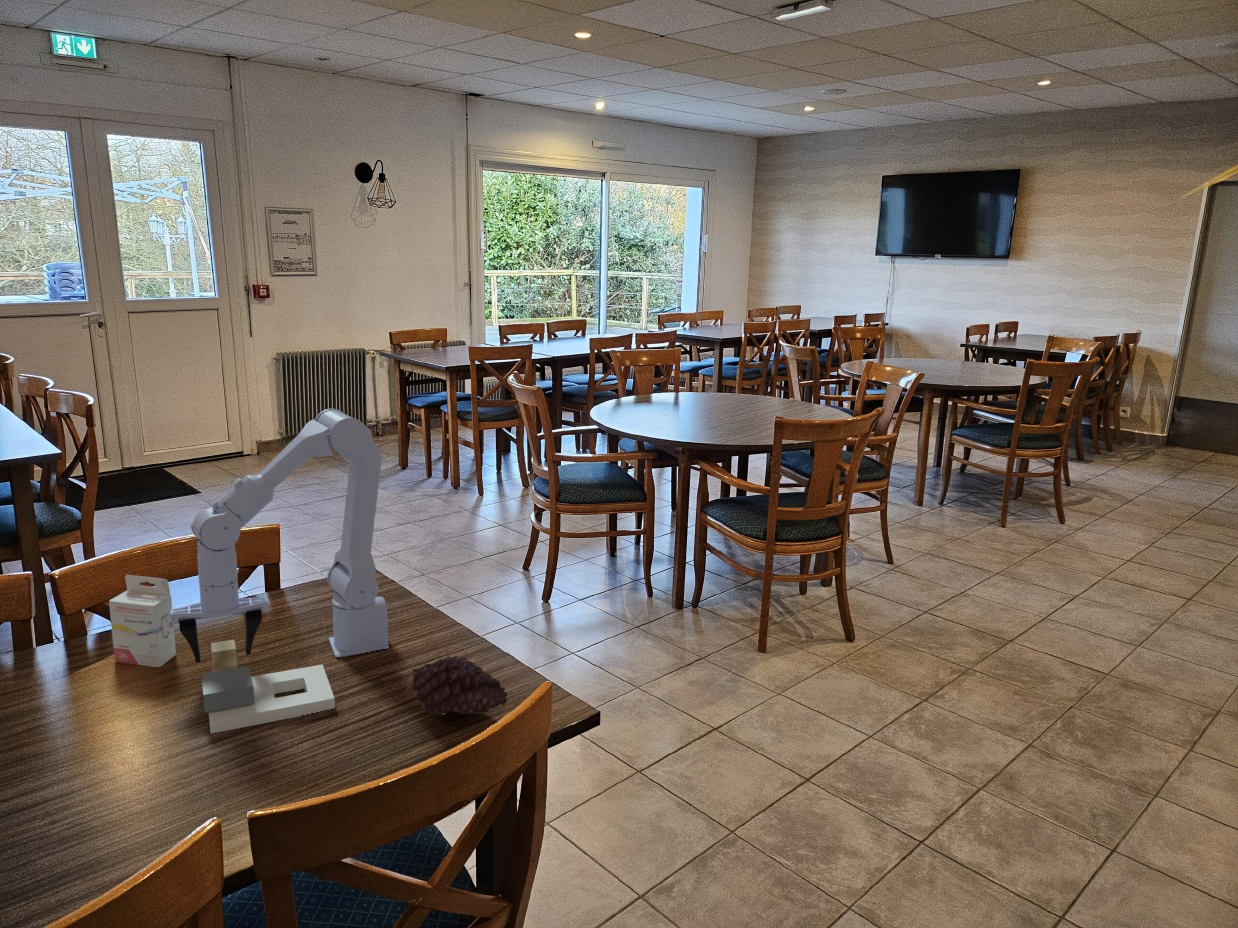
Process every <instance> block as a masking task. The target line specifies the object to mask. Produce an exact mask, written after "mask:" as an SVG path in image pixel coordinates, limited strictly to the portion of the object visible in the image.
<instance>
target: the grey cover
mask: <svg viewBox="0 0 1238 928" xmlns="http://www.w3.org/2000/svg"><path fill="white" fill-rule="evenodd" d="M252 677H253V676H252V671H251V667H250V665H246V666H239V667H237V668H233V669H227V670H221V671H215V672H213V671H211V672H210V671H209V672H205V673H204V672H203V673H201V684H202V694H203V695H202V699H203V708H204V713H209V712H211V711H216V710H222V709H227V708H232V707H238V706H243V705H249V704H254V687H253V681H252Z"/></svg>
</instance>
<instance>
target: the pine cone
mask: <svg viewBox="0 0 1238 928" xmlns="http://www.w3.org/2000/svg"><path fill="white" fill-rule="evenodd" d="M412 672H413V677H412V682H410V683H409V684H408V685H407V687H406V690H407V691H415V692H416V694H415V699H416V700H417V701H418V702H421V709H422V710H423V711H429V713H430V714H431V715H432V716H433V717H435V716H438V715H440V714H443V713H447V714H448V713H454V712H455V713H459V714H461V715H466V714H467V715H472V714H475V715H476V714H477V715H478V714H480V713H487V712H488V711H490V710H491V709H495V708H498V707H499V706H501V705H502V706H505V705H506V703H507V702H508V700H507V697H508V692H505V691H506V689H505V687H501V682H500V681H499V680H498V679H496V678H495V677H493V676H492V675H491V674H490V673H488V672H485V671H484V670H483V668H482V667H481V666H479V665H476V663H475V662H473V661H469V660H468V659H467V658H466V657H459V656H457V655H455V656H447V657H445V658H440V659H439V660H436V661H434V662H433V663H432V664H431V663H426V664H424V665H422V666H420V667H418V668H412Z"/></svg>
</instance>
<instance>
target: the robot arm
mask: <svg viewBox="0 0 1238 928" xmlns="http://www.w3.org/2000/svg"><path fill="white" fill-rule="evenodd" d="M372 434H373V433H372V430H371V428H369V427H368V426H366V425H365V424H364V423H363V422H362V421H361V420H360V419H357V418H355V417H352V416H349V415H348V414H346V413H344V412H343V411H342V410H340V409H337V408H327V409H324V410H322V411H320V412H319V413H318V414H317V415H316V416H315V418H314V419H311V420H310V421H308V422H306V424H305V425H304V427H303V428H302V429H301V430H300V432H299V433H298V434H297V435H296V436H295V437H294V438H293V439H292V440H291V441H290V442H289V443H288V444H287V445H286V446H285V447H284V448H283V449H282V450H281V451H280V452H279V453H278V454H277V455H276V456H275V457H274V458H273V459H272V460H271V461H270V462H269V463H268V464H267V465H266V466H265V467H264V468H263V469H262V470H261V471H260V472H259V473H258V474H247V475H245V476H244V477H243V478H240V477H237V478H236V479H235V480H234V481H233V482H232V484H233V487H231V489H230V490H228V491H227V492H226V493H225V494H224V495H223V496H222V497H221V498H219V500H217V501H216V500H214V501H212V502H210V505H209V506H211V507H208V508H203V509H202V510H201V511H199V512H198V513H197V514H196V515H195V516H194V519H193V521H192V524H190V530H191V532H192V533H193V535H194V536H195V537H196V538H197V541H196V542H197V545H196V546H197V548H196V549H197V558H196V559H197V572H198V583H199V584H198V585H199V595H200V596H199V597H200V599H199V600H200V602H198V603H195V604H191V605H187V606H183V607H178V608H172V609H171V624H172V625H179V627H178V628H179V631H180V633H181V635H182V636H183V638H185V640H186V641H187V643H188V645H189V647H190V649H191V651H192V653H193V656H194V660H195V663H201V653H200V645H199V640H198V629H197V621H198V620H205V619H207V620H208V619H214V618H224V617H228V616H235V615H242V614H243V615H244V628H245V635H244V637H245V638H244V639H245V640H244V646H245V655H246V656H248V655H251V654H252V647H253V643H254V639H255V636H256V633H257V631H258V629H259V627H260V625H261V623H262V620H263V616H262V613H269V602H268V601H269V600H268V598H267V597H268V596H266V597H239V582H238V581H239V580H238V564H237V563H238V562H237V552H236V547H235V546H236V545H235V544H236V543H237V541H238V540H239V538H240V534H241V530H242V528H243V527H245V526H246V525H247V524H248V523H249V522H250V521H251V520H252V519H254V518H255V517H256V516H257V515H258V514H259V513H260V512H261V511H262V510H263V509H265V508H266V506H267V505H269V503H271V502H272V501H273V499H274V490H275V488H277V487H278V486H279V485H280V484H282V483H283V482H284V481H285V480H287V478H289V477H290V476H291V475H292V474H294V473H295V472H296V471H297V470H298V469H299V468H301V467H302V466H303V465H304V464H306V463H307V462H308V461H309V460H311V459H313V458H323V457H333V456H334V454H333V452H332V449H334V450H335V451H337V453H338V454H339V455H340V456H341V457H342V458H343V459H344V460H345V461H346V462H347V463H348V464H349V469H348V477H347V478H348V479H347V488H346V495H345V496H346V497H345V504H344V506H345V507H344V515H343V523H342V524H343V525H342V532H341V540H340V541H341V542H340V548H339V549H338V550H337V552H336V553H335V554H334V559H333V562H332V565H331V567H330V568H329V569H328V571H327V576H326V579H327V581H326V582H327V584H328V586H329V587H330V588H331V589H332V590H333V597H332V599H331V600H332V622H333V623H332V628H333V630H332V631H333V636H330V637H328V641H329V645H330V646H331V649H332V651H333V654H334V656H335V658H337V659H338V658H343V657H344V658H345V657H349V656H354V655H355V656H356V655H361V653H362V654H367V653H366V652H368V653H371V652H370V651H374V652H376V651H375V650H380V649H386V650H388V649H390V647H389V635H388V634H389V631H388V630H389V625H388V619H389V618H388V609H387V603H386V600H385V598H384V596H378V595H379V594H378V593H379V590H380V589H379V583H378V581H377V578H376V577H377V576H376V571H377V568H376V567H377V566H376V564H375V561H374V558H373V554H372V546H373V537H374V528H375V522H376V521H375V518H376V510H377V501H378V496H379V495H378V493H379V486H380V485H379V483H380V477H381V476H380V475H381V468H382V456H381V453H380V450H379V449H378V447H377V445H376V442H375V440H374V438H373V435H372ZM387 648H388V649H387ZM380 651H381V650H380Z"/></svg>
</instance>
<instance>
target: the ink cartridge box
mask: <svg viewBox="0 0 1238 928" xmlns="http://www.w3.org/2000/svg"><path fill="white" fill-rule="evenodd" d="M124 580H125V585H126V590H125V591H123V592H122V593H120V594H118V595H117V596H115V597H113V598H111V599H110V600H108V604H109V615H110V625H111V637H112V644H113V645H112V647H113V656H114V663H119V664H129V665H135V666H136V665H137V666H144V667H152V668H153V667H154V668H162V666H164V665H165V664H166V663H167V662H168V661H170V660H171V659H172V658H174V657H175V656H176V655H177V654H176V653H177V652H176V650H177V649H176V640H175V639H176V638H175V628H174V625H172V624H171V609H173V603H172V595H171V592H170V585H169V579H168V578H167V579H166V578H159V577H152V576H143V575H141V576H140V575H133V574H131V575H130V574H126V575H125V576H124ZM146 582H148V583H149V584H153V585H154V586H150V585H143V584H142V585H141V583H146Z"/></svg>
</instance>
